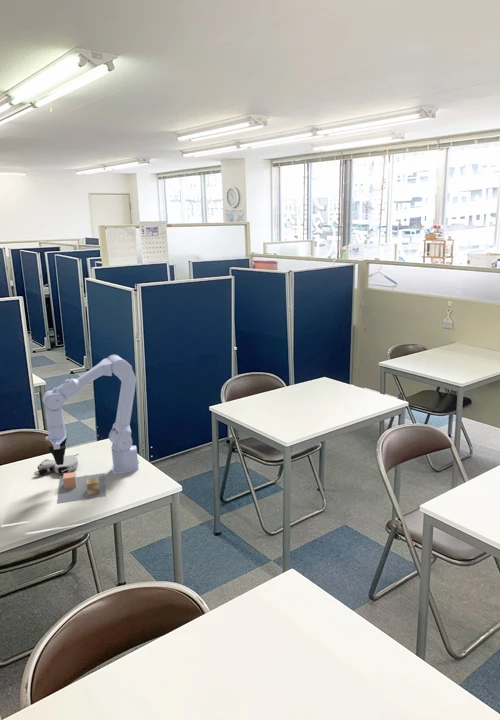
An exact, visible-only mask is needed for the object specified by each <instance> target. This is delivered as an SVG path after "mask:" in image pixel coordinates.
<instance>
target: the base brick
mask: <svg viewBox="0 0 500 720" xmlns="http://www.w3.org/2000/svg"><path fill="white" fill-rule="evenodd" d="M76 477H77V474H76V471H71V472H69V473H65V474H63V478H62V479H63V481H64V489H67V488H73V487H76Z"/></svg>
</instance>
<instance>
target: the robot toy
mask: <svg viewBox="0 0 500 720" xmlns="http://www.w3.org/2000/svg"><path fill="white" fill-rule="evenodd" d="M79 455H80V453H76V454H71V455H64V462H63V465H57V464H56V462H55V459H45V460H42V461H41V463H39V465H37V470H38V471H35V472H34V475H35V476H38V475H39V476H41V475H45V474H47V473H52V472H53V473H54V472H55V473H56V474H59V475H60V474H63V475H64V474H65V473H72V472H74V470H75V469H76V468H77V467H78V466H79V460H78V459H79V458H78V457H77V456H79Z"/></svg>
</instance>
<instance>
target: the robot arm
mask: <svg viewBox="0 0 500 720" xmlns="http://www.w3.org/2000/svg"><path fill="white" fill-rule="evenodd" d="M113 375H114V376H116V377H117V378H118V379H119V380H120V382H121V384H120V391H119V396H118V398H119V399H118V403H117V410H116V411H117V412H116V415H115V416H116V417H115V421H114V423H113V424H112V427H111V430H110V432H109V433H108V439H109V441H110V442H111V443H112V445H111V456H112V465H111V467H112V468H111V469H112V475H119V474H124V473H129V472H137V471H138V472H139V471H140V470H139V469H140V467H139V464H140V462H139V459H138V449H137V445H133V438H132V429H131V426H130V425H131V419H132V412H133V404H134V399H135V392H136V385H137V377H136V375H135V373H134V370H133V366H132V365H131V364H130V363H129V362H128V361H127V360H125V359H123V358H122V357H121V356H120V355H118V354H111V355H109V356H108V357H107V358H106V357H105V358H103V359H102V360H101V361H100V362H98V363H97V364H96V365H94V366H92V367H91V368H90V369H88V370H87V371H86V372H85V373H83V374H82V375H81V376H78V377H77V378H70V379H69V378H67V379H65V380H64V382H63V383H62V384H60V385H59V386H57V387H53V388H52V389H51V390H48V391H46V392H45V393H44V394H43V396H42V398H41V401H42V403H43V404H44V406H45V407H44V408H45V417H46V424H47V432H48V436H46V437H45V441H49V442H50V443H51V444H52V446H49V447H48V451H49V452H50V454H52V457H53V460H55V462H56V464H57V465H63V462H64V456H66V454H65V453H66V448H67V445H66V444H67V443H66V442H67V439H68V434H67V431H66V424H65V417H64V411H63V406H64V403H65V402H67V401H69V400H70V399H72V398H73V397H75V396H77V395H78V394H80V393H81V392H82V389H83V387H85V386H86V385H88V384H89V383H91V382H93V381H95V380H96V379H98V378H100V377H102V376H107V377H112V376H113Z"/></svg>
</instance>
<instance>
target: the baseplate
mask: <svg viewBox="0 0 500 720" xmlns="http://www.w3.org/2000/svg"><path fill="white" fill-rule="evenodd" d="M97 477H98V478H99V487H100V493H95V494H89V495H88V492H87V479H90V478H97ZM57 492H58V493H57V499H56V504H57V505H58V504H65V503H70V502H77V501H82V500H83V501H84V500H89V499H96V498H102V497H107V494H106V493H107V491H106V473H105V472H102V473H96V474H89V475H81V476H76V487H73V488H67V489H64V481H63V478H61V479H59V483H58V491H57Z"/></svg>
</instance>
